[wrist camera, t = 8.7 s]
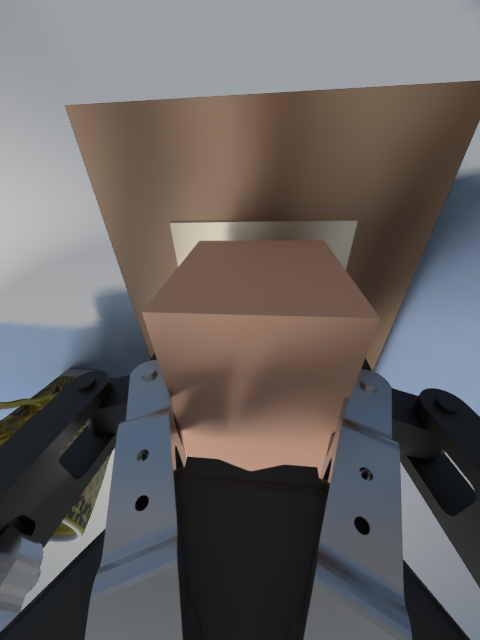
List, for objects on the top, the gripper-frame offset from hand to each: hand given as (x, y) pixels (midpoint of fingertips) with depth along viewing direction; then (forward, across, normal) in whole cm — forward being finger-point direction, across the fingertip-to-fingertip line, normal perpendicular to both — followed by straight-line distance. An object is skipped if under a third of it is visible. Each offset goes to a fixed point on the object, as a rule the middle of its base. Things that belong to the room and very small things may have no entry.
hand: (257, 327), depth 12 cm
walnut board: (+4, 0, 0) cm, 4 cm away
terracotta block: (+1, 0, 0) cm, 1 cm away
